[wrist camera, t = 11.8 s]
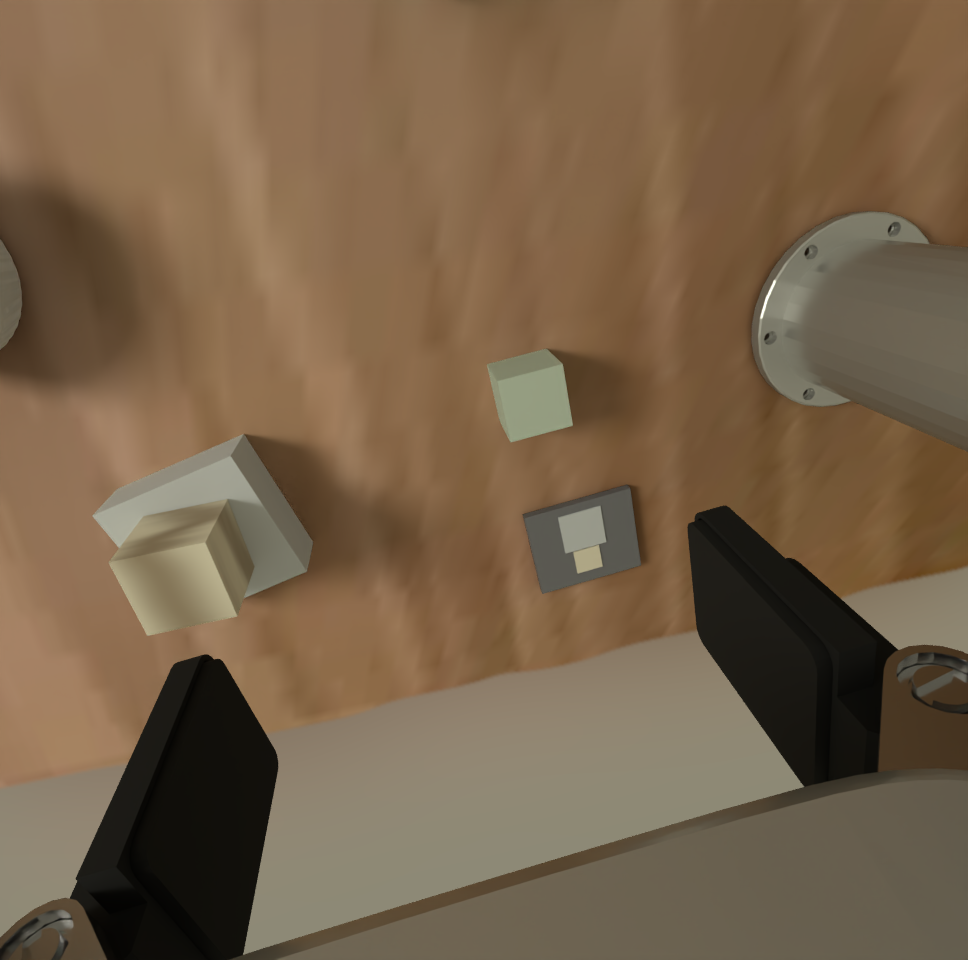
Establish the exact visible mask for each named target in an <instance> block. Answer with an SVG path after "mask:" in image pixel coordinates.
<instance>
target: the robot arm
mask: <svg viewBox="0 0 968 960" xmlns="http://www.w3.org/2000/svg"><path fill="white" fill-rule="evenodd" d="M752 348H753V353H754V359H755V361H756V364H757V366H758V369H759V371H760V373H761V375H762V376H763V377H764V379H765V380H766V382H767V383H768V384H769V385H770V386H771V387H772V388H773V389H774V390H776V391H777V392H778V393H779V394H781V395H783V396H785V397H787V398H789V399H790V400H792V401H795V402H797V403H800V404H803V405H808V406H817V407H825V406H835V405H839V404H843V403H847V402H850V401H853V402H856V403H858V404H860V405H862V406H865V407H867V408H869V409H871V410H874V411H876V412H878V413H881V414H883V415H885V416H887V417H890V418H892V419H894V420H897V421H899V422H901V423H903V424H906V425H908V426H910V427H912V428H915V429H917V430H919V431H922V432H924V433H926V434H928V435H931V436H933V437H935V438H937V439H940V440H942V441H944V442H947V443H949V444H951V445H953V446H956V447H958V448H960V449H963V450H965V451H967V452H968V247H958V246H947V245H936V244H930V243H929V241H928V239H927V237H926V236H925V235H924V234H923V233H922V232H921V231H920V229H919V228H918V227H917V226H916V225H914V224H913V223H911V222H910V221H908V220H907V219H905V218H904V217H900V216H897V215H894V214H891V213H887V212H873V211H867V212H852V213H848V214H845V215H841V216H837V217H834V218H832V219H830V220H828V221H826V222H824V223H822V224H820V225H818V226H816V227H815V228H813V229H812V230H811V231H809V232H808V233H806V234H805V235H804V236H802V237H801V238H800V239H799V240H798V241H797V242H796V243H795V244H793V245H792V246H791V247H790V248H789V249H788V250H787V251H786V252H785V253H784V255H783V256H782V257H781V259H780V260H779V261H778V263H777V264H776V265H775V267H774V268H773V269H772V271H771V273H770V275H769V277H768V278H767V280H766V282H765V284H764V286H763V287H762V290H761V293H760V296H759V298H758V301H757V304H756V306H755V312H754V317H753V322H752ZM688 539H689V550H690V561H691V571H692V582H693V593H694V604H695V614H696V625H697V630H698V634H699V636H700V639H701V641H702V643H703V644H704V646H705V647H706V649H707V650H708V652H709V653H710V655H711V656H712V657H713V659H714V660H715V662H716V663H717V664H718V666H719V667H720V668H721V670H722V672H723V673H724V674H725V676H726V677H727V679H728V680H729V681H730V683H731V684H732V686H733V687H734V688H735V690H736V691H737V693H738V694H739V696H740V697H741V698H742V699H743V701H744V702H745V704H746V705H747V707H748V708H749V710H750V711H751V712H752V714H753V715H754V717H755V718H756V720H757V721H758V722H759V724H760V725H761V727H762V728H763V729H764V731H765V732H766V734H767V735H768V736H769V738H770V739H771V741H772V742H773V744H774V745H775V746H776V748H777V749H778V751H779V752H780V753H781V755H782V756H783V758H784V759H785V761H786V762H787V763H788V765H789V766H790V768H791V769H792V770H793V772H794V773H795V775H796V776H797V777H798V779H799V780H800V782H801V783H802V784H803V785H804V787H803V788H799V789H796V790H792V791H788V792H785V793H781V794H778V795H774V796H770V797H767V798H763V799H759V800H756V801H752V802H749V803H745V804H741V805H738V806H734V807H731V808H727V809H723V810H720V811H716V812H713V813H710V814H706V815H703V816H700V817H696V818H693V819H689V820H686V821H683V822H679V823H676V824H672V825H669V826H666V827H663V828H659V829H656V830H652V831H649V832H645V833H642V834H639V835H635V836H632V837H628V838H625V839H622V840H618V841H615V842H612V843H608V844H605V845H601V846H598V847H595V848H591V849H588V850H585V851H581V852H578V853H574V854H571V855H568V856H564V857H561V858H558V859H555V860H551V861H548V862H545V863H541V864H538V865H535V866H531V867H528V868H525V869H521V870H518V871H515V872H512V873H508V874H505V875H501V876H498V877H495V878H492V879H488V880H485V881H482V882H478V883H475V884H472V885H468V886H465V887H462V888H459V889H455V890H452V891H449V892H445V893H442V894H439V895H436V896H432V897H429V898H425V899H422V900H419V901H416V902H412V903H409V904H406V905H402V906H399V907H396V908H393V909H390V910H386V911H383V912H380V913H377V914H373V915H370V916H367V917H364V918H360V919H358V920H354V921H351V922H348V923H344V924H341V925H338V926H334V927H332V928H328V929H325V930H321V931H318V932H315V933H312V934H308V935H305V936H302V937H299V938H295V939H292V940H289V941H286V942H283V943H280V944H276V945H273V946H270V947H266V948H263V949H260V950H257V951H254V952H251V953H248V954H245V955H243V952H244V947H245V941H246V937H247V931H248V926H249V920H250V915H251V910H252V905H253V900H254V894H255V889H256V884H257V878H258V873H259V868H260V862H261V857H262V852H263V847H264V841H265V836H266V831H267V825H268V820H269V815H270V809H271V804H272V799H273V794H274V788H275V783H276V778H277V772H278V758H277V754H276V751H275V749H274V747H273V746H272V744H271V742H270V741H269V739H268V737H267V735H266V734H265V732H264V730H263V729H262V727H261V725H260V723H259V722H258V720H257V718H256V717H255V715H254V713H253V712H252V710H251V708H250V706H249V705H248V703H247V701H246V700H245V698H244V696H243V695H242V693H241V691H240V689H239V688H238V686H237V684H236V683H235V681H234V679H233V678H232V676H231V674H230V672H229V671H228V669H227V667H226V666H225V664H224V663H223V661H222V660H220V659H215V660H214V659H213V658H212V657H211V656H209V655H201V656H198V657H194V658H191V659H187V660H184V661H180V662H177V663H176V664H174V665H173V667H172V668H171V670H170V673H169V675H168V677H167V679H166V681H165V684H164V686H163V688H162V690H161V692H160V694H159V697H158V699H157V701H156V703H155V705H154V708H153V710H152V712H151V714H150V716H149V719H148V721H147V723H146V725H145V727H144V730H143V732H142V734H141V736H140V738H139V741H138V743H137V745H136V747H135V749H134V752H133V754H132V756H131V758H130V760H129V763H128V765H127V767H126V769H125V772H124V774H123V776H122V778H121V780H120V782H119V785H118V787H117V789H116V791H115V793H114V796H113V798H112V800H111V802H110V804H109V807H108V809H107V811H106V813H105V815H104V817H103V820H102V822H101V824H100V826H99V828H98V831H97V833H96V835H95V837H94V840H93V842H92V844H91V846H90V848H89V851H88V853H87V855H86V857H85V859H84V862H83V864H82V866H81V868H80V870H79V872H78V875H77V877H76V880H77V883H76V886H75V888H74V890H73V892H72V895H71V897H70V899H68V898H62V899H58V900H53V901H50V902H48V903H46V904H44V905H42V906H40V907H38V908H36V909H34V910H32V911H31V912H30V913H28V914H27V915H25V916H24V917H23V918H21V919H20V920H19V921H17V922H16V923H15V924H14V925H13V926H12V927H11V928H10V929H9V930H8V931H7V932H6V933H5V934H4V935H3V936H1V937H0V960H968V654H966V653H964V652H962V651H958V650H955V649H951V648H947V647H943V646H933V645H918V646H908V647H906V648H903V649H901V650H898V649H897V648H896V647H894V646H893V645H892V644H891V643H890V642H889V641H888V640H887V639H885V638H884V637H883V636H882V635H881V634H880V633H879V632H877V631H876V630H875V629H874V628H873V627H872V626H871V625H870V624H868V623H867V622H866V621H865V620H864V619H863V618H862V617H861V616H859V615H858V614H857V613H856V612H855V611H854V610H852V609H851V608H850V607H849V606H848V605H847V604H846V603H845V602H844V601H842V600H841V599H840V598H839V597H838V596H837V595H836V594H835V593H833V592H832V591H831V590H830V589H829V588H828V587H827V586H826V585H824V584H823V583H822V582H821V581H820V580H819V579H818V578H817V577H815V576H814V575H813V574H812V573H811V572H810V571H809V570H807V569H806V568H805V567H804V566H803V565H802V564H801V563H799V562H798V561H796V560H795V559H792V558H786V559H785V558H784V557H783V556H782V555H781V554H780V553H779V552H778V551H777V550H775V549H774V548H773V547H772V546H771V545H770V544H769V543H768V542H767V541H766V540H764V539H763V538H762V537H761V536H760V535H759V534H758V533H757V532H756V531H754V530H753V529H752V528H751V527H750V526H749V525H748V524H747V523H746V522H745V521H743V520H742V519H741V518H740V517H739V516H738V515H737V514H736V513H735V512H734V511H732V510H731V509H730V508H729V507H727V506H720V507H717V508H713V509H710V510H706V511H703V512H700V513H697V514H696V515H695V522H692V523H689V524H688Z"/></svg>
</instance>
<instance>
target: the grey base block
mask: <svg viewBox="0 0 968 960" xmlns="http://www.w3.org/2000/svg"><path fill="white" fill-rule="evenodd" d="M225 499H228V501H229V504H230V506H231V509H232V511H233V514H234V516H235V519H236V521H237V524H238V526H239V529H240V531H241V534H242V536H243V539H244V541H245V544H246V546H247V549H248V551H249V554H250V556H251V559H252V561H253V564H254V566H255V567H254V570H253V573H252V576H251V579H250V582H249V585H248V587H247V590H246V593H245V596H244V598H245V597H248V596H250V595H253V594H255V593H257V592H260V591H262V590H264V589H267V588H269V587H272V586H274V585H276V584H279V583H281V582H283V581H286V580H288V579H290V578H293V577H295V576H298V575H300V574H302V573H305V572H307V569H308V565H309V560H310V556H311V551H312V546H313V541H312V539H311V538H310V536H309V535H308V533H307V532H306V530H305V529H304V527H303V525H302V524H301V522H300V521H299V519H298V518H297V516H296V514H295V513H294V511H293V510H292V508H291V507H290V505H289V504H288V502H287V500H286V499H285V497H284V496H283V494H282V493H281V491H280V489H279V488H278V486H277V485H276V483H275V482H274V480H273V479H272V477H271V475H270V474H269V472H268V471H267V469H266V468H265V466H264V464H263V463H262V461H261V460H260V458H259V457H258V455H257V454H256V452H255V450H254V449H253V447H252V446H251V444H250V443H249V441H248V439H247V438H246V436H245V435H244V434H243V435H240V436H238V437H236V438H233V439H231V440H229V441H226V442H224V443H222V444H220V445H217V446H215V447H213V448H210V449H208V450H206V451H203V452H201V453H199V454H197V455H194V456H192V457H190V458H187V459H185V460H183V461H180V462H178V463H176V464H173V465H171V466H169V467H167V468H164V469H162V470H160V471H157V472H155V473H153V474H150V475H148V476H146V477H144V478H141V479H139V480H137V481H134V482H132V483H130V484H127V485H125V486H123V487H121V488H118V489H117V490H116V491H115V492H114V493H113V494H112V495H111V496H110V497H109V498H108V499H107V500H106V502H105V503H104V504H103V505H102V506H101V507H100V508H99V509H98V510H97V511H96V512H95V513H94V514H93V517H94V518H95V520H96V521H97V522H98V523H99V524H100V526H101V527H102V528H103V529H104V530H105V532H106V533H107V534H108V535H109V536H110V538H111V539H112V540H113V541H114V542H115V544H116V545H117V546H118V547H119V548H120V547H121V545H122V544H123V543H124V541H125V540H126V539H127V537H128V536H129V535H130V533H131V532H132V531H133V529H134V528H135V527H136V525H137V524H138V523H139V521H140V520H141V519H142V517H143V516H147V515H152V514H157V513H162V512H166V511H171V510H176V509H181V508H186V507H191V506H196V505H201V504H206V503H211V502H215V501H220V500H225Z"/></svg>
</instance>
